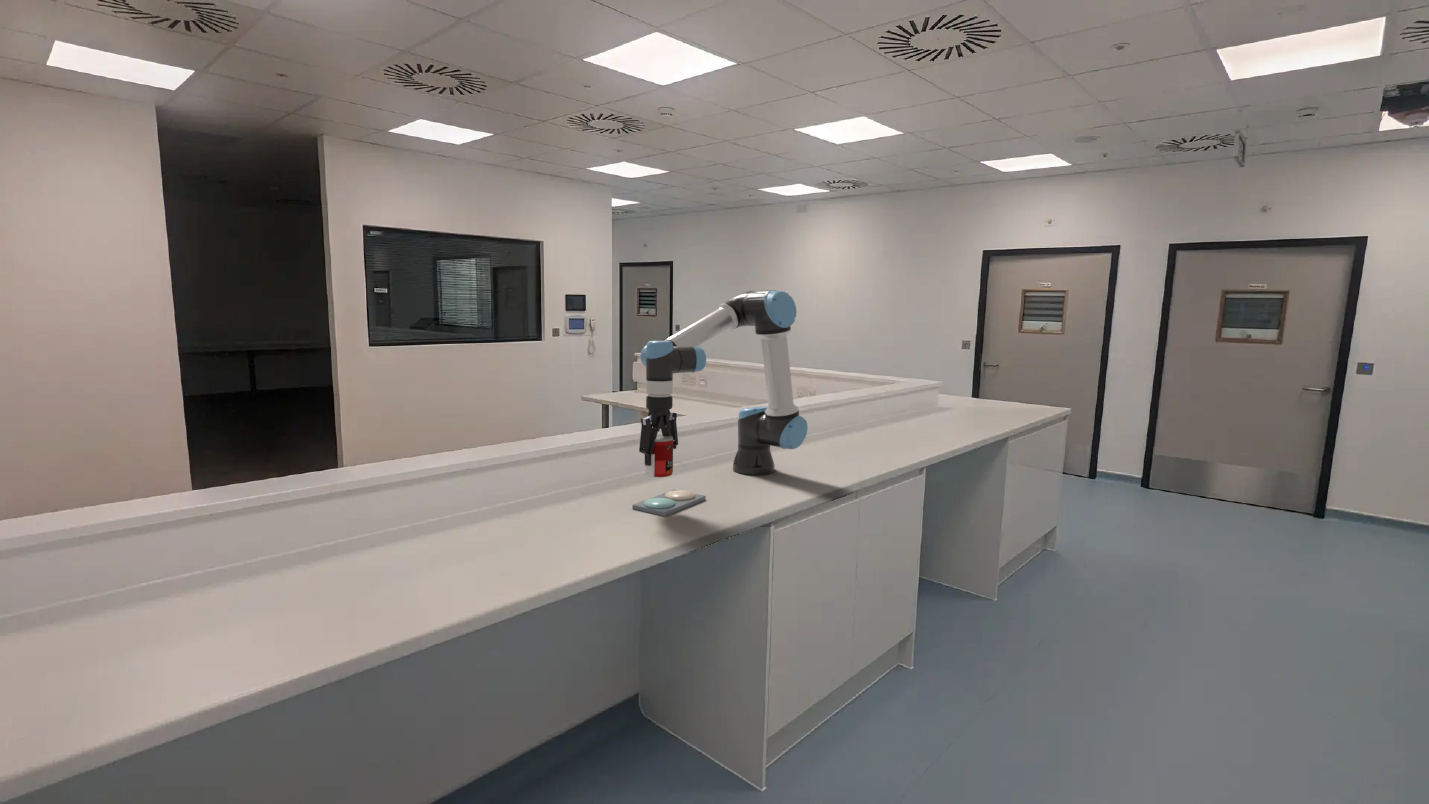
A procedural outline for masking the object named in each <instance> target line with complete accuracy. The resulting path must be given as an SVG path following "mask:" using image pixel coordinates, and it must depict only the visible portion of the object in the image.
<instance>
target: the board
mask: <svg viewBox="0 0 1429 804" xmlns="http://www.w3.org/2000/svg"><path fill="white" fill-rule="evenodd" d="M706 497H707V496H706V495H704V494H703V495H702V494H697V493H694V492H693V491H691V490H682V489H681V490H680V489H679V490H678V489H673V490H670V491H669V490H668V491H667V492H664V493H662V494H659V495H656V496H653V497H651V498H647V499H645V500H641V501H638V502H637V503H634V504H632V508H631V509H633V510H636V511H639V512H645V513H649V514H653V515H658V516H662V517H667V516H670V515H673V514H674V513H676V512H679V511H681V510H684V509H686V508H687V509H688V508H690V507H691V506H693V505H696V504H698V503H701V502H703V501H706ZM652 498H668V499H672V500H674V501H675V505H674V506H673V507H670V508H665V509H652V508H648V507H645V506H644V501H646V500H648V499H652Z"/></svg>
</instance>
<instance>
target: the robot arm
mask: <svg viewBox="0 0 1429 804" xmlns="http://www.w3.org/2000/svg"><path fill="white" fill-rule="evenodd" d="M796 317H797V306H796V303H795V300H794V298H793V297H792V296H791V295H790V294H789V293H788V292H786V291H782V290H749V291H745V292H742V293H740V294H737V295H735V296H733V297H731V298H729V299H727V300H726V301H724V302H722V303H721V304H719V305H718V306H717V307H716V309H715V310H714V311H712V312H711V313H709V314H708V315H706V316H704V317H702V318H700V319H699V320H697V321H695V322H694V323H692V324H690V325H688V326H686V327H685V328H683V329H681V330H679V331H678V332H676V333H674V334H673V335H671V336H669V337H668V338H665V339H664V340H650V341H648V342H647V343H646V345H645V346H644V347H643V348H642V349H641V352H640V362H641V363H642V365H643V366H644V367H645V369H646V370H645V376H646V377H645V380H646V382H645V383H646V388H645V389H646V391H645V392H646V394H647V395H646V397H645V408H646V409H647V410H648V414H647V416H645V417H641V418H640V425H641V427H640V428H641V429H640V436H639V437H640V438H639V447H638V451H639V452H638V453H641V454H644V467H645V473H644V474H645V477H650V478H655V477H654V468H655V454H652V453H653V449H654V445H655V439H656V437H657V435H658V433H659V432H661V435H663V436H672V437H673V450H676V449H677V446H678V445H679V439H678V438H679V437H678V428H677V427H678V425H677V417H678V413H676V412H671V410H672V409H673V406H674V405H673V396H672V395H673V394H674V391H673V390H674V388H673V387H674V381H673V380H674V379H673V378H674V374H682V373H683V374H684V373H693V374H694V373H697V372H701V371H703V370H704V369H705V367H706V364H707V355H706V352H705V351H704V349H703V348H702V346H703V345H705V344H706V343H708V342H710V341H712V340H714V339H715V338H716V337H719V336H720V335H722V334H724V333H725V332H727V331H734V330H736V329H738V328H741V327H749V326H751V327H754V329H755V330H754V331H755V335H756V336H757V337H759V338H760V344H761V351H762V352H761V353H762V358H763V370H764V378H765V387H766V397H767V404H768V405H767V406H754V407H744V408H741V409H740V410H739V412H738V418H737V438H738V439H737V450H736V454H735V456H734V459H733V462H732V470H733V471H734V472H735V473H738V474H742V475H751V476H752V475H753V476H761V475H768V474H771V473H774V472H775V463H774V462H775V461H774V457H773V454H772V451H771V447H776V448H780V449H783V450H796V449H797V448H799V447H800V446H802V444H803V443H804V441H805V439H806V437H807V434H808V429H809V428H808V422H807V419H805V417H803V416H801V415H800V413H799V412H800V409H799V407H798V406H797V405H796V404H794V397H793V396H794V395H793V386H792V385H793V384H792V377H791V376H792V374H791V366H790V357H789V346H788V345H789V344H788V334H789V333H790V332H791V328H792V327H791V326H792V325H793V324H794V323H795V321H796Z"/></svg>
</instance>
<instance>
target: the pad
mask: <svg viewBox="0 0 1429 804" xmlns="http://www.w3.org/2000/svg"><path fill="white" fill-rule="evenodd" d="M651 498H652V497H651ZM647 499H648V500H647ZM647 499H645V500H646V501H644V500H643V501H644V506H645V507H648V508H652V509H665V508H670V507H673V506H674V505H675V501H674V500H672V499H668V498H652V499H650V498H647Z"/></svg>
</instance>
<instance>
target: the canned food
mask: <svg viewBox="0 0 1429 804" xmlns="http://www.w3.org/2000/svg"><path fill="white" fill-rule="evenodd" d="M673 441H674V440H673V437H672V436H663V435H662V434H657V437H656V439H655V445H654V449H653V453H652V454H655V468H654V477H653V478H667V477H670V476H672V475H673V472H674V449H673Z"/></svg>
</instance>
